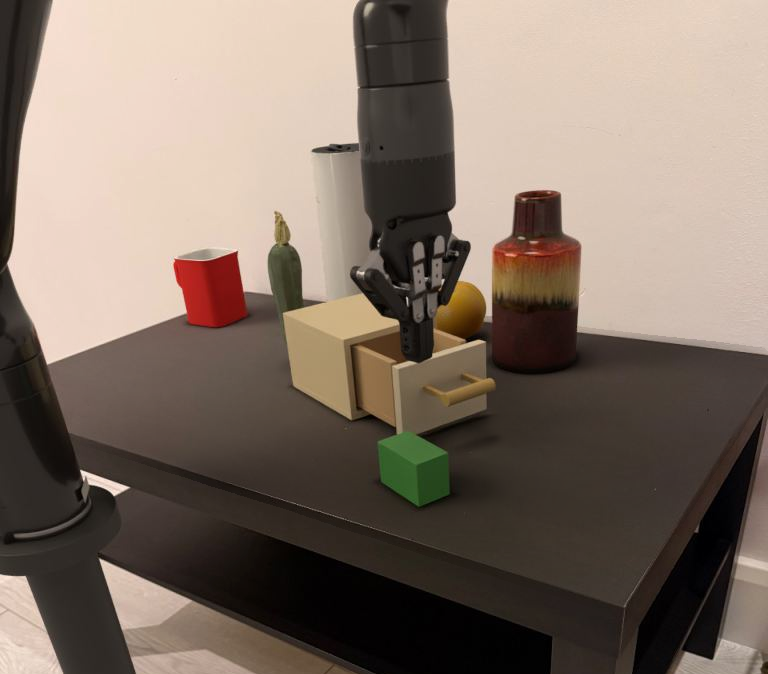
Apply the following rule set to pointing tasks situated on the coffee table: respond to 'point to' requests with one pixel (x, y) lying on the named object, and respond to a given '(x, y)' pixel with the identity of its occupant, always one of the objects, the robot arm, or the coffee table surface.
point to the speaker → (340, 216)
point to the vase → (535, 288)
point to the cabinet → (332, 348)
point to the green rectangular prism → (414, 468)
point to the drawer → (420, 381)
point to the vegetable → (284, 272)
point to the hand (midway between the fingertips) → (418, 359)
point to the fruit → (462, 311)
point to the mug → (211, 286)
